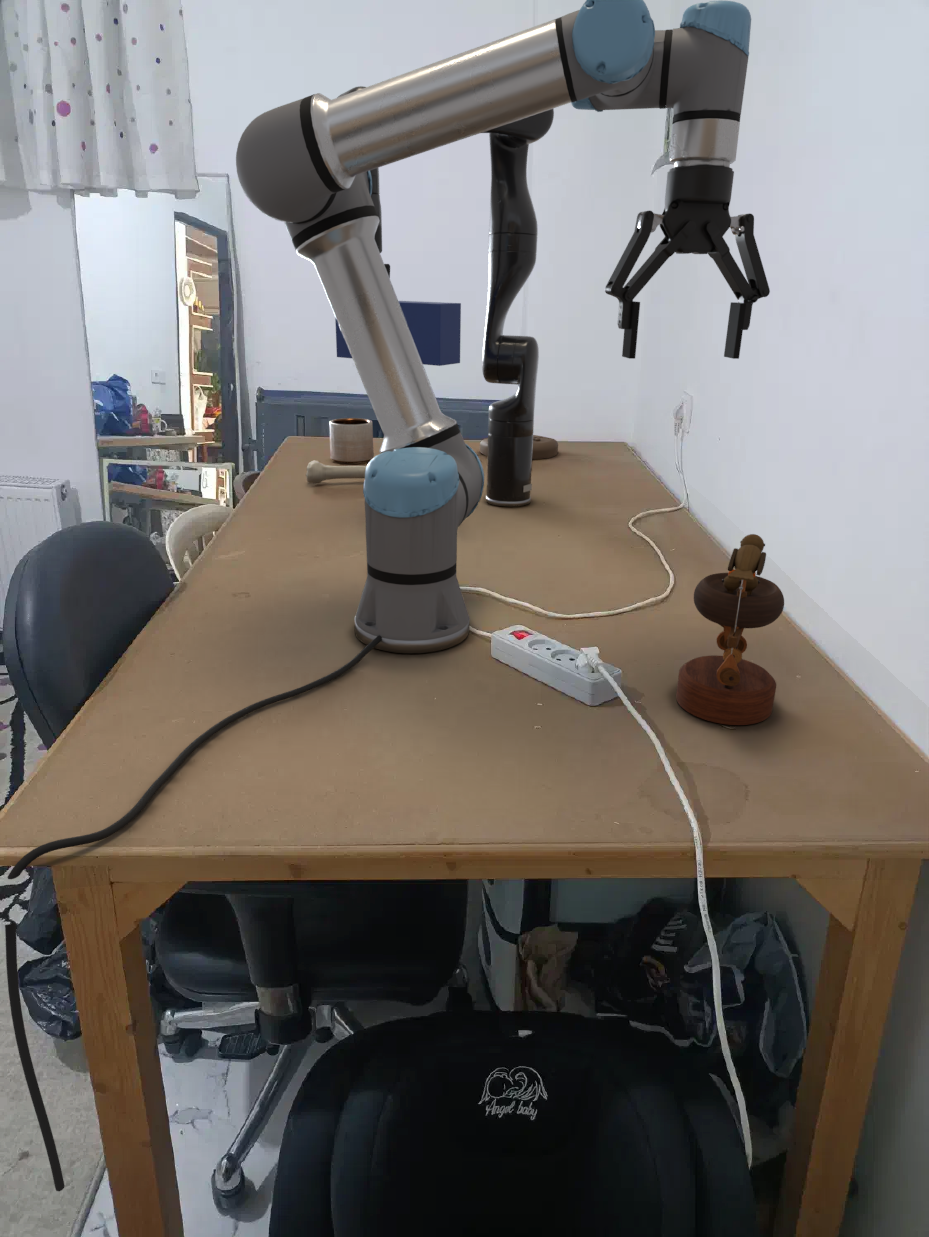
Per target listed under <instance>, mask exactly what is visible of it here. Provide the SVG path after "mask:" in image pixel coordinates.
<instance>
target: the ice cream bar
mask: <svg viewBox="0 0 929 1237" xmlns="http://www.w3.org/2000/svg"><path fill="white" fill-rule="evenodd" d="M479 453H480V454H482V455H483V456H484V455H485V456H487V457H488V437H485V438H483V439H482V440H480V442H479ZM558 454H559V443H558V441H557V439H555V438H553V437H547V436H542V435H537V434H533V451H532V460H540V459H541V460H542V459H548V458H549V459H550V458H553V457H556V456H558Z"/></svg>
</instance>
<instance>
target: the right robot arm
mask: <svg viewBox="0 0 929 1237" xmlns="http://www.w3.org/2000/svg"><path fill="white" fill-rule="evenodd" d="M366 87H367V86H362V85H360V86H355V87H352V88H350V89H348V90H346V91H344V92H342V93H340V94H339V95H338V96H337V97H336V98H338V97H341V96H344V95H346V94H349V93H352V92H355V91H357V90H360V89H363V88H366ZM554 117H555V108H553V109H550V110H547V111H544V112H541V113H538V114H535V115H533V116H530V117H527V118H524V119H521V120H518V121H515V122H512V123H509V124H506V125H503V126H500V127H497V128H494V129H491V130H488V131H485V132H482V133H481V134H488V135H489V139H488V140H489V152H490V153H489V154H490V178H491V179H490V199H489V200H490V202H489V206H490V207H489V225H488V226H489V227H488V241H487V242H488V244H487V245H488V246H487V298H486V310H485V320H484V321H485V322H484V331H483V343H482V354H481V369H482V375H483V378H484V380H485V382H487V383H489V384H501V385H517V390H516V392H515V393H514V394H512V395H510V396H509V397H506V398H504V399H500V400H497V401H494V402H492V403H491V404H489V407H488V416H487V417H488V419H487V420H488V424H487V435H488V436H487V438H488V456H487V458H486V459H487V461H486V462H487V467H486V495H485V502H486V503H488V504H489V505H493V506H497V507H510V508H511V507H512V508H513V507H522V506H528V505H529V504H530V503H531V501H532V500H531V498H532V497H531V491H532V489H533V483H532V470H533V459H532V451H533V435H534V427H535V426H534V424H535V406H536V391H537V390H536V389H537V380H538V371H539V370H538V369H539V359H540V350H539V348H540V347H539V343H538V341H537V339H536V338H535V337H533V336H529V335H511V334H509V335H508V334H506V335H505V334H503V333H504V327H505V322H506V318H507V315H508V313H509V311H510V309H511V307H512V304H513V303H514V300H515V299H516V298H517V296H518V295H519V293H520V291H521V290H522V288H523V287H524V286H525V284H526V282H527V281H528V279H529V278H530V276H531V275H532V272H533V271H534V268H535V265H536V263H537V252H538V250H537V249H538V234H539V233H538V220H537V215H536V211H535V208H534V204H533V201H532V198H531V193H530V189H529V187H528V176H527V173H528V172H527V170H528V156H529V155H528V154H529V146H530V144H533V143H536V142H538V141H540V140H541V139H543V137H545V135H546V134H548V132H549V131H550V130H551V128H552V125H553V122H554ZM370 172H371V178H372V194H371V199H372V201H373V204H374V207H375V209H376V212H377V214H378V217H379V220H380V221H379V224H378V227H377V230H376V233H375V237H374V239H375V242H376V244H377V247H378V250H379V252H380V254H381V253H383V225H382V224H383V223H382V220H383V219H382V217H383V216H382V205H381V204H382V203H381V196H380V194H381V192H380V167H379V168H376V169H373V170H370ZM384 265H385V268H386V270H387V273H388V275H389V278H390V279H391V265H390V263H384Z"/></svg>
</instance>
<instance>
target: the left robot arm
mask: <svg viewBox="0 0 929 1237" xmlns="http://www.w3.org/2000/svg"><path fill="white" fill-rule="evenodd" d="M751 15H752V14H751V12H750V10H749V8H748V7H747V6H746V5H744V4H743V3H740V2H737V1H734V0H733V1H732V0H709V1H707V2H697V3H695V4H692V5H690V6H688V7H687V8H686V9H684V12H683V14H682V18H681V22H680V23H679V27H678V28H672V29H655V23H654V22H655V21H654V20H653V18H652V16H651V13H650V10H649V8H648V6H647V4H646V2H645V1H644V0H585V1H584V3H583V4H582V5H581V7H580V9H577V10H574V11H571V12H569V13H567V14H565V15H562V16H560V17H557V18H554V19H552V20H548V21H546V22H543V23H541V24H538V25H535V26H532V27H529V28H527V29H524V30H521V31H518V32H516V33H513V34H510V35H507V36H504V37H502V38H499V39H496V40H494V41H491V42H488V43H485V44H482V45H479V46H476V47H474V48H471V49H469V50H466V51H463V52H460V53H457V54H455V55H452V56H449V57H446V58H443V59H440V60H438V61H435V62H432V63H430V64H427V65H424V66H422V67H419V68H416V69H413V70H411V71H407V72H404V73H402V74H399V75H396V76H394V77H391V78H388V79H385V80H382V81H380V82H377V83H375V84H372V85H368V86H365V87H366V88H363V89H360V90H357V91H355V92H352V93H349V94H346V95H344V96H341V97H338V96H337V97H338V98H337V97H336V98H333V99H331V98H329V97H327V96H326V95H324V94H322V93H320V92H318V93H314V94H310V95H308V96H306V97H303V98H300V99H297V100H294V101H291V102H289V103H286V104H282V105H280V106H277V107H274V108H272V109H269V110H267V111H265V112H263V113H261V114H259V115H257V116H256V117H255V118H253V119H252V120H251V121H250V123H249V124H248V125H246V127H245V129H244V130H243V132H242V134H241V136H240V138H239V140H238V143H237V148H236V154H235V166H236V168H235V169H236V175H237V179H238V182H239V184H240V186H241V189H242V191H243V193H244V195H245V196H246V198H247V199H248V201H249V202H250V203H251V204H252V205H253V206H254V207H255V208H256V209H257V211H259V212H260V213H262V214H264V215H265V216H266V217H268V218H270V219H273V220H275V221H278V222H283V223H284V226H285V228H286V231H287V232H288V235H289V238H290V240H291V242H292V245H293V247H294V248H293V249H295V250H294V251H295V252H296V254H297V255H298V256H300V257H301V258H304V259H306V260H308V261H310V262H311V263H312V264H313V265H314V268H315V270H316V272H317V275H318V277H319V280H320V283H321V285H322V287H323V290H324V292H325V294H326V297H327V300H328V302H329V304H330V307H331V309H332V312H333V314H334V317H336V319H337V322H338V324H339V326H340V329H341V331H342V334H343V336H344V339H345V341H346V344H347V346H348V348H349V351H350V353H351V356H352V358H351V359H352V361H353V364H354V366H355V368H356V370H357V373H358V375H359V378H360V380H361V383H362V386H363V387H364V390H365V392H366V395H367V397H368V400H369V402H370V405H371V407H372V410H373V412H374V415H375V417H376V420H377V422H378V424H379V427H380V429H381V431H382V434H383V440H382V443H381V446H380V448H379V450H378V453H379V454H377V455H374V457H373V459H372V460H370V461H368V463H367V464H366V466H367V467H366V470H365V478H364V481H363V489H362V494H363V497H364V517H365V518H364V520H365V545H366V546H365V548H366V549H365V550H366V579H365V584H364V586H363V589H362V592H361V596H360V600H359V602H358V606H357V609H356V612H355V615H354V633H355V636H356V638H357V639H358V640H359V641H360V642H362V643H363V644H365V645H366V646H365V647H364V648H362V650H361V651H360V652H359V653H357V655H355V656H354V658H353V659H351V660H350V661H349V662H347V663H345V664H344V665H343V666H341V667H340V668H338V669H336V670H334V671H332V672H331V673H329V674H327V675H326V676H322V677H321V678H318V679H317V680H313V681H312V682H309V683H307V684H305V685H302V686H300V687H297V688H295V689H292V690H288V691H285V692H282V693H279V694H276V695H273V696H269V697H267V698H265V699H262V700H259V701H257V702H254V703H252V704H250V705H248V706H246V707H244V708H242V709H240V710H238V711H236V712H234V713H232V714H230V715H229V716H227V717H226V718H223V719H222V720H220V721H219V722H217V723H216V724H214V725H212V726H211V727H210V728H208V729H207V730H206V731H205V732H203V733H201V735H199V736H198V737H197V738H195V739H194V740H193V741H191V743H189V745H187V746H186V747H185V748H184V749H183V750H182V751H181V752H180V753H179V755H178V756H177V757H175V759H174V760H173V761H172V763H171V764H169V766H168V767H167V768H166V769H165V770H164V771H163V772H162V773H161V774H160V775H159V777H157V778H156V779H155V781H153V783H152V784H151V785H150V786H149V788H147V790H146V791H145V792H144V794H143V795H142V796H141V797H140V799H139V800H138V801H137V803H135V804H134V806H133V807H132V808H131V809H130V810H129V811H128V812H127V813H126V814H124V816H122V817H121V818H119V819H118V820H117V821H115V822H114V823H112V824H111V825H108V826H107V827H105V828H103V829H100V830H99V831H96V832H92V833H88V834H83V835H78V836H72V837H66V838H61V839H57V840H53V841H49V842H47V843H44V844H42V845H39V846H37V847H35V848H33V849H32V850H30V851H29V852H28V853H26V854H25V855H24V856H23V857H21V858H20V860H18V861H17V862H16V864H15V865H14V866H13V867H12V869H11V871H10V872H9V874H8V876H7V880H14V879H16V878H18V877H20V876H21V874H22V873H23V872H24V870H25V869H26V868H27V867H28V866H29V865H30V864H31V863H32V862H34V861H35V860H36V859H38V858H39V857H41V856H43V855H45V854H48V853H51V852H54V851H58V850H61V849H66V848H72V847H77V846H82V845H88V844H93V843H95V842H98V841H101V840H105V839H107V838H109V837H111V836H112V835H115V834H116V833H117V832H120V831H121V830H122V829H124V828H125V827H126V826H128V825H129V824H130V823H131V822H133V821H134V820H135V819H136V818H137V817H138V816H139V815H140V814H141V813H142V812H143V811H144V809H145V808H146V807H147V806H148V804H149V803H150V801H151V800H152V798H153V797H154V796H155V795H156V794H157V793H158V791H159V790H160V789H161V787H163V786H164V784H165V783H166V782H167V781H168V780H169V779H171V777H173V775H174V774H175V773H176V771H177V770H178V769H179V768H180V767H181V765H183V763H184V762H185V761H186V760H187V759H188V758H189V757H190V756H191V755H192V754H193V753H194V752H195V751H196V750H197V749H198V748H199V747H201V745H203V744H204V743H205V742H207V741H208V740H209V739H210V738H211V737H213V736H215V735H216V734H217V733H218V732H220V731H222V730H223V729H224V728H226V727H227V726H229V725H230V724H232V723H234V722H236V721H237V720H239V719H241V718H243V717H245V716H247V715H249V714H251V713H253V712H256V711H257V710H261V709H262V708H264V707H267V706H270V705H272V704H276V703H279V702H281V701H285V700H287V699H291V698H294V697H297V696H299V695H302V694H304V693H307V692H309V691H311V690H314V689H316V688H318V687H321V686H323V685H325V684H327V683H329V682H331V681H333V680H336V679H337V678H338V677H340V676H343V675H344V674H345V673H347V672H348V671H349V670H351V669H353V668H354V667H355V666H356V665H357V664H358V663H360V662H361V661H362V660H363V659H364V658H365V657H366V656H367V655H368V654H369V652H371V651H372V650H373V649H377V650H380V651H384V652H390V653H396V654H397V653H398V654H425V653H433V652H439V651H443V650H446V649H449V648H452V647H455V646H457V645H458V644H460V643H462V642H463V641H464V640H466V639H467V637H468V636H469V634H470V615H469V612H468V608H467V606H466V601H465V599H464V596H463V593H462V589H461V586H460V583H459V581H458V577H457V561H458V560H457V559H458V558H457V557H458V556H457V554H458V528H459V527H460V526H461V525H462V524H463V523H464V521H465V520H466V519H468V517H471V515H472V514H473V512H474V511H475V510H476V508H478V505H479V503H480V501H481V498H482V495H483V491H484V487H485V472H484V467H483V465H482V461H481V459H480V457H479V455H477V453H476V451H475V450H474V449H473V448H472V447H470V446H469V445H468V444H467V443H466V442H465V440H464V437H463V435H462V432H461V430H460V427H459V424H458V422H457V420H456V419H455V418H452V417H450V416H448V415H446V414H444V413H443V412H442V410H441V408H440V405H439V402H438V399H437V397H436V395H435V392H434V390H433V388H432V384H431V381H430V379H429V376H428V374H427V372H426V368H425V366H424V364H423V363H422V361H421V358H420V356H419V353H418V350H417V348H416V345H415V343H414V340H413V338H412V335H411V332H410V330H409V327H408V325H407V322H406V319H405V317H404V314H403V312H402V309H401V306H400V304H399V301H400V300H399V298H398V296H397V294H396V291H395V288H394V286H393V283H392V280H391V277H390V278H389V275H388V273H387V270H386V268H385V265H384V264H385V262H384V260H383V258H382V255H381V253H380V252H379V250H378V247H377V244H376V242H375V239H374V237H375V233H376V230H377V227H378V224H379V221H380V220H379V217H378V214H377V212H376V209H375V207H374V204H373V201H372V199H371V194H372V178H371V172H370V170H373V169H376V168H379V169H380V168H381V167H384V166H387V165H391V164H394V163H396V162H399V161H402V160H405V159H409V158H412V157H413V156H416V155H420V154H422V153H426V152H429V151H431V150H435V149H439V148H441V147H443V146H446V145H450V144H453V143H456V142H458V141H462V140H464V139H467V138H471V137H473V136H476V135H479V134H483V133H482V132H485V131H488V130H491V129H494V128H497V127H500V126H503V125H506V124H509V123H512V122H515V121H518V120H521V119H524V118H527V117H530V116H533V115H535V114H538V113H541V112H544V111H547V110H550V109H553V108H554V109H557V108H559V107H562V106H565V105H568V104H570V105H571V106H572V107H573V108H574V109H576V110H582V111H583V110H584V111H595V112H597V113H600V112H601V113H602V112H604V111H615V110H617V111H618V110H644V109H646V110H647V109H660V110H663V109H673V110H672V111H673V112H672V113H673V115H672V121H671V122H672V123H671V132H670V133H671V134H670V144H669V154H668V163H670V164H671V165H673V167H671V168H670V169H669V171H667V173H666V183H665V195H664V209H663V211H662V213H661V214H660V213H655V212H653V210H644V211H640V212H639V213H637V216H636V221H635V226H634V232H633V234H632V235H631V238H630V240H629V241H628V243H627V245H626V247H625V248H624V250H623V252H622V255H621V257H620V259H619V260H618V262H617V264H616V266H615V268H614V270H613V271H612V273H611V275H610V278H609V279H608V281H607V283H606V285H605V287H604V292H605V293H606V295H610V296H611V297H613V298H616V299H617V300H618V311H617V312H618V315H617V327H618V329H619V330H623V341H622V352H621V353H622V354H621V357H622V358H626V359H635V360H636V354H637V342H638V332H639V331H638V329H639V320H640V318H639V317H640V307H641V301H634V299H635V298H636V297H637V296H638V294H639V293H640V292H641V291H642V290H643V289H644V288H645V286H646V285H647V284H648V283H649V282H650V280H651V279H652V278H653V277H654V276H655V275H656V274H657V272H658V271H659V270H660V269H661V268H662V266H663V265H664V264H665V263H666V262H667V261H668V260H669V258H670V257H672V256H673V255H674V254H676V255H687V254H693V255H708V256H709V258H711V259H712V260H713V261H714V264H715V265H716V266H717V269H718V270H719V272H720V273H721V275H722V277H723V278H724V280H725V281H726V283H727V284H728V286H729V289H730V290H731V291H732V293H733V294H734V296H735V298H736V300H737V301H738V302H731V301H730V306H729V313H728V321H727V329H726V335H725V336H726V337H725V343H724V353H723V357H724V358H729V359H732V360H736V359H737V360H739V359H740V353H741V346H742V339H743V331H748V330H749V328H750V326H751V319H752V311H753V305H754V303H756V302H758V300H759V299H762V298H767V297H768V296H769V295H770V293H771V290H770V286H769V283H768V279H767V275H766V272H765V269H764V266H763V262H762V259H761V258H762V257H761V255H760V251H759V248H758V244H757V240H756V238H755V234H754V233H755V232H754V231H755V216H754V214H753V213H750V212H749V213H742V214H738V215H735V216H731V214H730V204H731V200H732V194H733V192H732V191H733V184H734V175H735V171H734V170H733V168H732V167H730V166H731V165H732V164H733V163H735V162H736V159H737V152H738V143H739V134H740V127H741V126H740V124H741V123H740V122H741V116H742V109H743V101H744V94H745V86H746V78H747V72H748V71H747V70H748V64H749V56H750V40H751V28H752V16H751ZM658 226H659V227H660V230H661V231H662V234H663V235H664V237H663V239H661V241H660V242H659V243H658V244H657V246H656V247H655V248H654V250H653V252H652V253H651V254H650V255H649V256H648V258H647V259H646V260H645V261H644V262H643V263H642V265H641V266H640V268H638V270H637V271H636V272H635V274H633V276H632V277H631V278H630V279H629V280H628V278H629V276H630V275H631V273H632V271H633V269H634V267H635V266H636V263H637V261H638V259H639V258H640V256H641V254H642V253H643V250H644V248H645V246H646V244H647V243H648V241H649V239H650V236H651V234H652V233H654V232H656V230H657V228H658ZM729 229H730V230H731V233H732V235H734V237H735V238H734V239H735V243H736V246H737V248H738V249H737V250H738V253H739V257H740V259H741V260H740V261H741V263H742V266H743V270H744V272H745V274H744V273H743V272H742V270H741V268H740V267H739V265H738V263H737V262H736V260H735V258H734V257H733V255H732V253H731V250H730V247H729V245H728V244H727V241H726V240H725V238H724V235H725V234H726V233H727V232H728V230H729ZM745 276H746V277H745ZM627 280H628V281H627ZM626 282H627V283H626ZM4 931H5V932H4V933H5V962H6V963H5V966H6V977H7V990H8V991H7V992H8V998H9V1006H10V1014H11V1020H12V1026H13V1032H14V1038H15V1041H16V1046H17V1051H18V1055H19V1059H20V1062H21V1067H22V1071H23V1074H24V1078H25V1082H26V1085H27V1088H28V1092H29V1095H30V1098H31V1102H32V1105H33V1108H34V1112H35V1115H36V1120H37V1122H38V1125H39V1129H40V1132H41V1136H42V1139H43V1142H44V1146H45V1150H46V1154H47V1158H48V1161H49V1166H50V1170H51V1176H52V1180H53V1185H54V1189H55V1191H56V1192H61V1191H63V1190H64V1189H65V1181H64V1176H63V1171H62V1167H61V1163H60V1159H59V1154H58V1150H57V1146H56V1142H55V1139H54V1134H53V1131H52V1128H51V1124H50V1121H49V1117H48V1114H47V1110H46V1107H45V1104H44V1100H43V1096H42V1093H41V1089H40V1086H39V1083H38V1079H37V1075H36V1072H35V1068H34V1064H33V1060H32V1056H31V1052H30V1048H29V1043H28V1038H27V1034H26V1029H25V1023H24V1017H23V1010H22V1002H21V994H20V984H19V972H18V971H19V970H18V956H17V955H18V951H17V950H18V949H17V948H18V947H17V923H16V922H14V923H7V924H5V925H4Z"/></svg>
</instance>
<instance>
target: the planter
mask: <svg viewBox="0 0 929 1237" xmlns="http://www.w3.org/2000/svg"><path fill="white" fill-rule="evenodd" d="M328 424H329V425H328V426H329V453H330V454H329V455H330V456H329V457H330V459H331V460H332V461H333V462H335V463H341V464H363V463H367V462H368V463H369V462H370V461H371V460H372V459H373V458H374V457H375V455H374V452H375V451H374V450H375V449H374V430H373V429H374V428H373V420H371V419H369V418H362V417H361V418H360V417H342V418H341V417H340V418H335V419H334V418H333V419H331V420H329V421H328Z"/></svg>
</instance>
